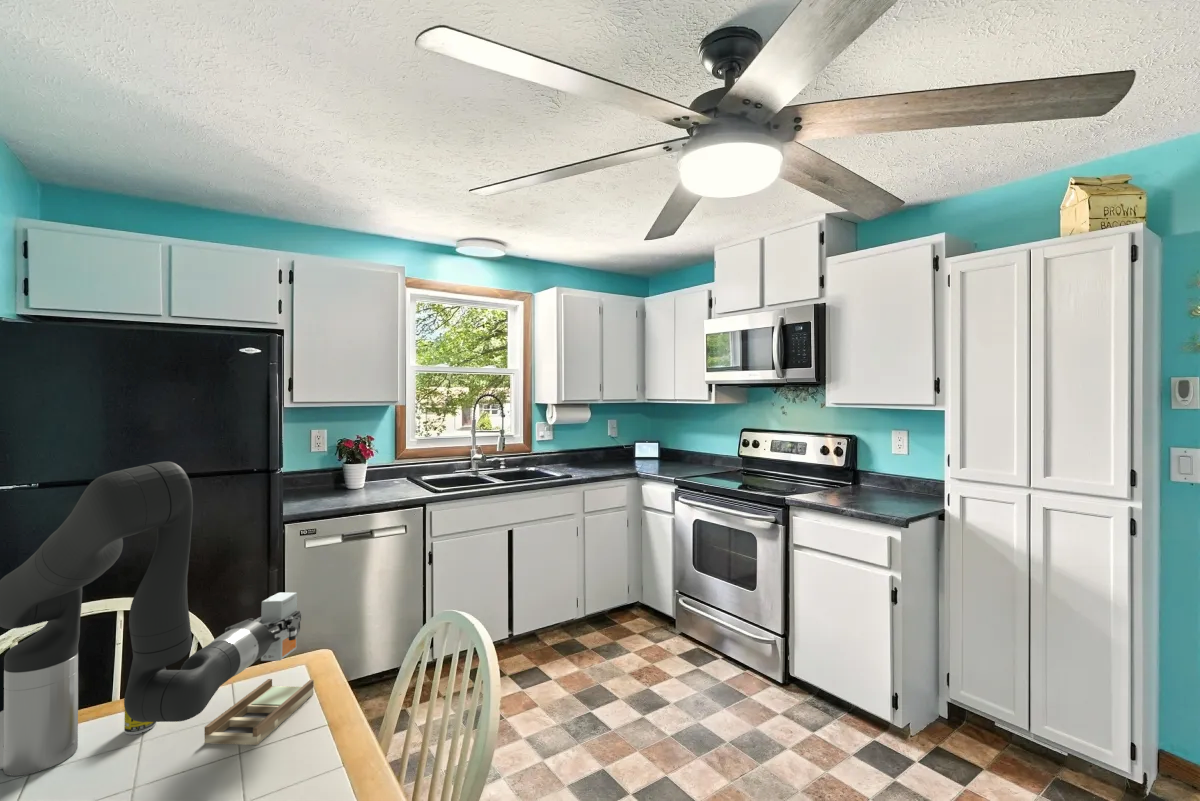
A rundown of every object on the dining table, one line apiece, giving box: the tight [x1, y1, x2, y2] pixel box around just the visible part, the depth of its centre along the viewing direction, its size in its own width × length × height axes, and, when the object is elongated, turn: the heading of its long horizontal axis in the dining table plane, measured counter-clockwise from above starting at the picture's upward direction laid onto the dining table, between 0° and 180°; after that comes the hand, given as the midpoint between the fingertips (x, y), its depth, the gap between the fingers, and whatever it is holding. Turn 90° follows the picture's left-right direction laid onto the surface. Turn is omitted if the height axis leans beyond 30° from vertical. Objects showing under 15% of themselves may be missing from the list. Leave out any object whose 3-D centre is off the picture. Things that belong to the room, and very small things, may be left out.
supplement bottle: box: [124, 709, 157, 736], centre depth 108 cm, size 5×5×8 cm
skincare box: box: [260, 592, 298, 662], centre depth 116 cm, size 6×4×12 cm
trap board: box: [204, 678, 314, 746], centre depth 111 cm, size 10×18×3 cm, turn 177°
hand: (286, 616), depth 119 cm, fingers closed on skincare box, 4 cm apart
